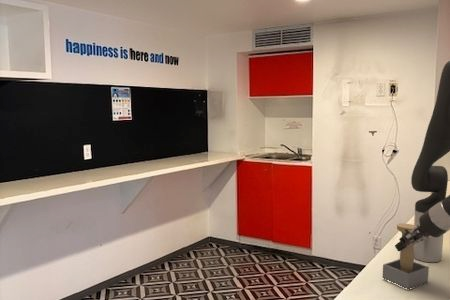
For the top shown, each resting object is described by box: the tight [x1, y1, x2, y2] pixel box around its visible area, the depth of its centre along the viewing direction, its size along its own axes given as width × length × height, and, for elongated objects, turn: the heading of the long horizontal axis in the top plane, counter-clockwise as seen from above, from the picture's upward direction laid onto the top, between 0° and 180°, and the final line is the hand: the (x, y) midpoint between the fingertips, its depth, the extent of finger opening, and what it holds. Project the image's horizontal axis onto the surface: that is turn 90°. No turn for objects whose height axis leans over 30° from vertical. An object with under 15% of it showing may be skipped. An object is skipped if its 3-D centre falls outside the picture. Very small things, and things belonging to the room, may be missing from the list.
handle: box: [396, 222, 416, 274], centre depth 131 cm, size 5×6×15 cm
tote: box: [382, 258, 430, 289], centre depth 132 cm, size 10×9×5 cm
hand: (401, 247), depth 132 cm, fingers closed on handle, 3 cm apart
